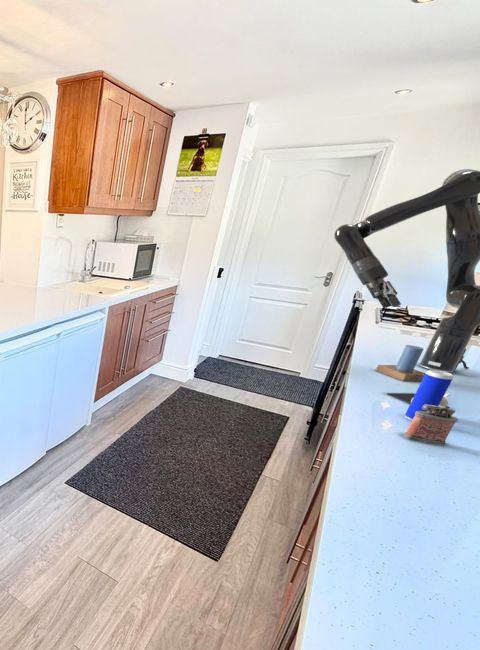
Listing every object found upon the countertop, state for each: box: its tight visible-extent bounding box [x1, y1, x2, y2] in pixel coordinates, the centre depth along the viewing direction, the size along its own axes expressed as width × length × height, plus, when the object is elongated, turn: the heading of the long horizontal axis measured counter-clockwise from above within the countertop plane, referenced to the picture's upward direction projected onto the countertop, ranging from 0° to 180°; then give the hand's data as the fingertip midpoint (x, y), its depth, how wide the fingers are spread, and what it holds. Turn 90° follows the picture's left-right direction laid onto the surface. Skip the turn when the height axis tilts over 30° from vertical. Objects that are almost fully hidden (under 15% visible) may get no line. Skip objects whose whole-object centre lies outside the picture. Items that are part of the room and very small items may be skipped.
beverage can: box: [404, 369, 454, 421], centre depth 115 cm, size 5×5×15 cm
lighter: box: [403, 404, 459, 446], centre depth 105 cm, size 8×3×10 cm, turn 71°
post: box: [396, 344, 424, 372], centre depth 148 cm, size 5×5×9 cm
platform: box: [375, 364, 426, 382], centre depth 151 cm, size 10×10×2 cm
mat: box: [386, 392, 450, 408], centre depth 130 cm, size 10×10×1 cm
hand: (392, 306), depth 151 cm, fingers open, 8 cm apart
